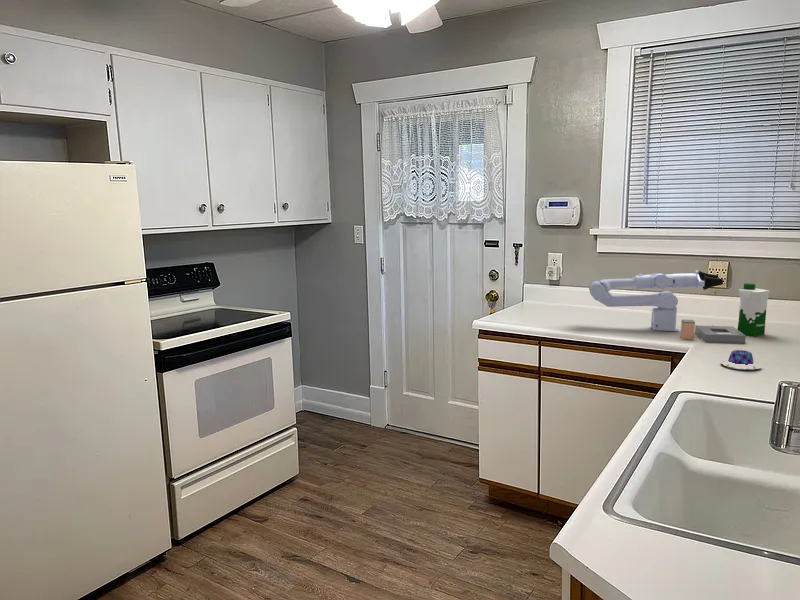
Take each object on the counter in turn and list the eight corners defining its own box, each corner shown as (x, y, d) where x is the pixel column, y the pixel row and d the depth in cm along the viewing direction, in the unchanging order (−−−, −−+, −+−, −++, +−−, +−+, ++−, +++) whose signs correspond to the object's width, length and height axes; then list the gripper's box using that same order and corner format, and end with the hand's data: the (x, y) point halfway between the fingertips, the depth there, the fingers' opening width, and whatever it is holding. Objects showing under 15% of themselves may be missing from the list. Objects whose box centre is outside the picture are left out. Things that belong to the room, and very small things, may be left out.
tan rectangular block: (682, 339, 238) (683, 321, 236) (680, 336, 241) (681, 319, 240) (693, 339, 237) (695, 321, 235) (691, 337, 241) (692, 319, 239)
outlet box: (704, 342, 232) (705, 333, 232) (694, 332, 248) (695, 324, 247) (745, 343, 229) (745, 335, 228) (732, 333, 244) (733, 326, 244)
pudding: (714, 367, 200) (715, 352, 199) (727, 360, 208) (728, 345, 207) (755, 374, 192) (756, 358, 191) (766, 367, 200) (767, 351, 199)
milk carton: (746, 330, 250) (750, 282, 246) (768, 334, 242) (773, 285, 238) (733, 333, 246) (737, 284, 242) (754, 337, 238) (759, 287, 234)
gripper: (687, 274, 242) (725, 273, 238) (681, 267, 255) (716, 266, 252) (687, 291, 243) (724, 291, 240) (680, 284, 257) (715, 283, 253)
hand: (720, 279), depth 246 cm, fingers open, 7 cm apart
